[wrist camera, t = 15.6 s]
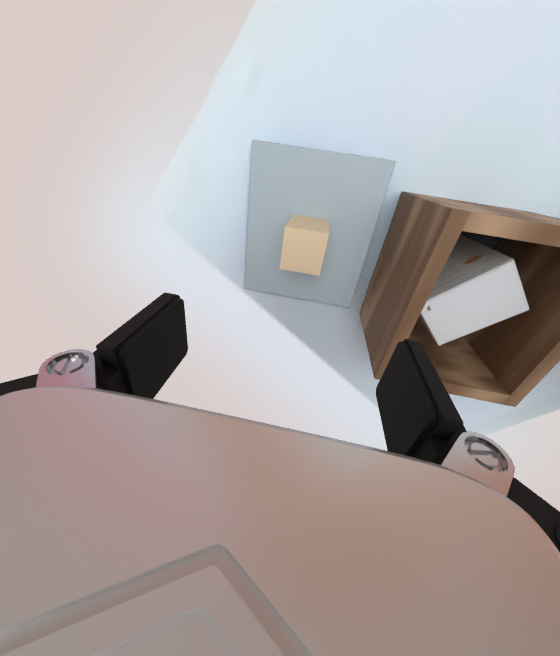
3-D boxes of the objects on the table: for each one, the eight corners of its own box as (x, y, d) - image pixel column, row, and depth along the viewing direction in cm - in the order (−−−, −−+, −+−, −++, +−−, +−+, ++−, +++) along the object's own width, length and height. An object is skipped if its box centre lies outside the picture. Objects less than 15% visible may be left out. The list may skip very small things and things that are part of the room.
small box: (408, 301, 35) (436, 348, 26) (390, 268, 33) (414, 306, 24) (474, 270, 31) (533, 311, 22) (459, 230, 29) (516, 258, 20)
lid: (391, 161, 27) (417, 159, 19) (348, 300, 36) (354, 337, 28) (256, 141, 28) (230, 131, 20) (248, 282, 37) (227, 313, 29)
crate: (528, 211, 27) (671, 244, 16) (455, 330, 36) (515, 406, 24) (401, 191, 28) (452, 208, 17) (359, 312, 36) (374, 378, 25)
